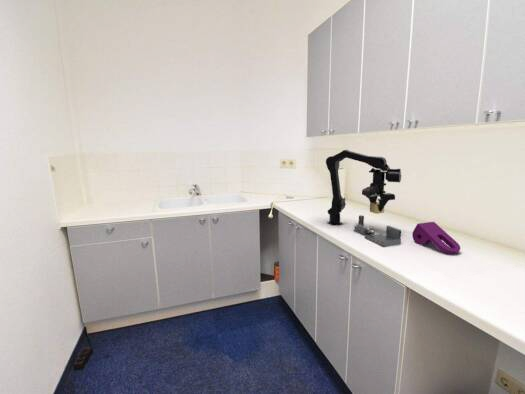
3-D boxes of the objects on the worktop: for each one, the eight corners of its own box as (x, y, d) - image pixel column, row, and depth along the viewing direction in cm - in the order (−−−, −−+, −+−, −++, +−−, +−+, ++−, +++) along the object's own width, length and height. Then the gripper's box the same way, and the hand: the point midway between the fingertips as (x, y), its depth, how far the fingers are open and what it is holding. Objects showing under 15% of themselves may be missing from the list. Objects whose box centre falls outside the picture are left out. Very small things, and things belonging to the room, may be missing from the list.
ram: (356, 227, 145) (356, 215, 144) (360, 227, 146) (361, 214, 144) (371, 234, 134) (372, 221, 132) (375, 234, 134) (376, 220, 133)
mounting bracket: (455, 263, 117) (425, 234, 131) (465, 250, 112) (433, 221, 126) (437, 266, 115) (409, 236, 128) (447, 252, 110) (417, 223, 124)
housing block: (369, 211, 145) (369, 202, 144) (377, 210, 147) (377, 201, 146) (376, 213, 140) (376, 204, 139) (383, 212, 142) (384, 203, 141)
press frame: (350, 231, 144) (350, 220, 143) (368, 228, 147) (368, 218, 146) (382, 247, 121) (383, 234, 120) (403, 243, 125) (404, 231, 124)
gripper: (354, 180, 147) (353, 207, 150) (378, 184, 129) (376, 216, 132) (371, 178, 150) (369, 206, 153) (397, 183, 132) (394, 213, 135)
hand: (376, 210), depth 143 cm, fingers closed on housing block, 5 cm apart
